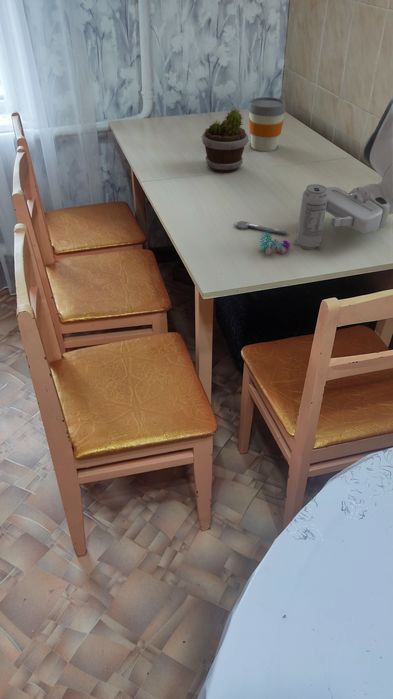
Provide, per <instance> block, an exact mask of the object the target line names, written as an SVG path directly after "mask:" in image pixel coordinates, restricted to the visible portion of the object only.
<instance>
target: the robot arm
mask: <svg viewBox="0 0 393 699" xmlns="http://www.w3.org/2000/svg"><path fill="white" fill-rule="evenodd" d="M363 159H364V160H365V161H366V163H367V164H368V165H369V166H371V167H372V168H373V169H374V170H375V172H376V173H377V174H378V175H379V176H380V178H381V181H379V182H377V183H369V184H366V185H361V186H358V187H354V188H352V189H351V191H350V192H347V191H346V190H344V189H342V188H340V187H337V186H327V187H326V188H327V190H326V191H327V194H328V200H327V206H326V212H325V213H328V214H330V216H332V217H333V218H332V219H331V222H330V223H331V225H332V226H334V227H335V228H337V227H351V228H352V229H353V230H356V231H357V232H359V233H362V234H368V233H372V232H374V231H378V230H382V229H384V228H385V227H386V224H387V221H388V217H389V215H392V214H393V96H392V97H391V98H390V100H389V102H388V103H387V106H386V108H385V110H384V111H383V113H382V116H381V118H380V120H379V122H378V123H377V125H376V127H375V129H374V131H373V132H372V134H371V135H370V136H369V137H368V138H367V140H366V142H365V145H364V148H363Z"/></svg>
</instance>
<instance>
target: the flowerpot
mask: <svg viewBox="0 0 393 699" xmlns="http://www.w3.org/2000/svg"><path fill="white" fill-rule="evenodd" d="M243 115H244V114H242V111H240V109H239V107H237V104H236V105H235V106H234V107H232V106H231V108H230V110H228V111H227V114H225V116H224V118H223V119H222V120H221V121H222V122H221V121H219V120H220V119H217V120H216V119H214V121H213V120H212V121H211V123H210V125H209V127H207V128H205V130H204V131H203V133H202V135H201V142H202V144H203V145H204V149H205V154H206V156H205V163H206V165H207V167H208V168H209V169H210V170H211V171H214V172H216V173H232V172H235V171H237V170H239V168H240V167H241V165H243V162H244V161H243V160H244V159H243V153H244V149H245V147H246V146H247V145H248V143H249V141H250V140H249V134H247V133H246V130H245V129H244V128H242V126H243V125H244V123H243V117H244V116H243Z"/></svg>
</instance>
